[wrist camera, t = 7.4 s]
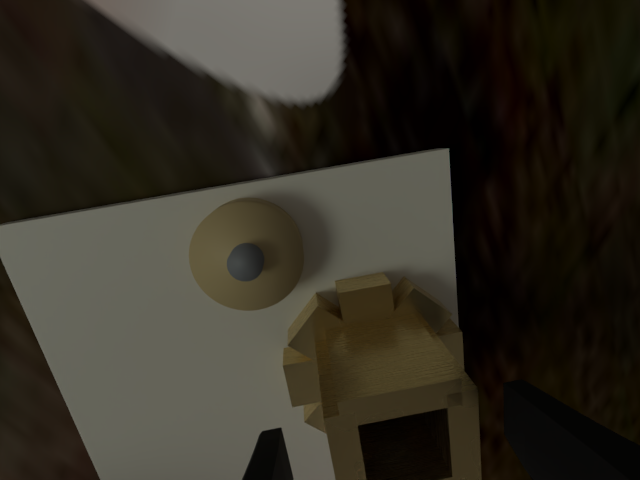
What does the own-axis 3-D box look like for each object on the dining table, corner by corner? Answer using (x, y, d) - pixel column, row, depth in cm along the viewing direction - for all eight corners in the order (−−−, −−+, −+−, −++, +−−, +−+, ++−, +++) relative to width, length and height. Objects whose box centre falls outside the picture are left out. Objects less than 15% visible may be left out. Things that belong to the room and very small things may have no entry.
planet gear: (454, 404, 16) (525, 516, 11) (302, 434, 16) (306, 561, 11) (445, 260, 14) (525, 321, 9) (271, 292, 14) (259, 372, 9)
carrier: (456, 441, 18) (501, 523, 14) (131, 506, 17) (85, 609, 13) (437, 148, 14) (494, 148, 10) (9, 221, 13) (-109, 253, 9)
